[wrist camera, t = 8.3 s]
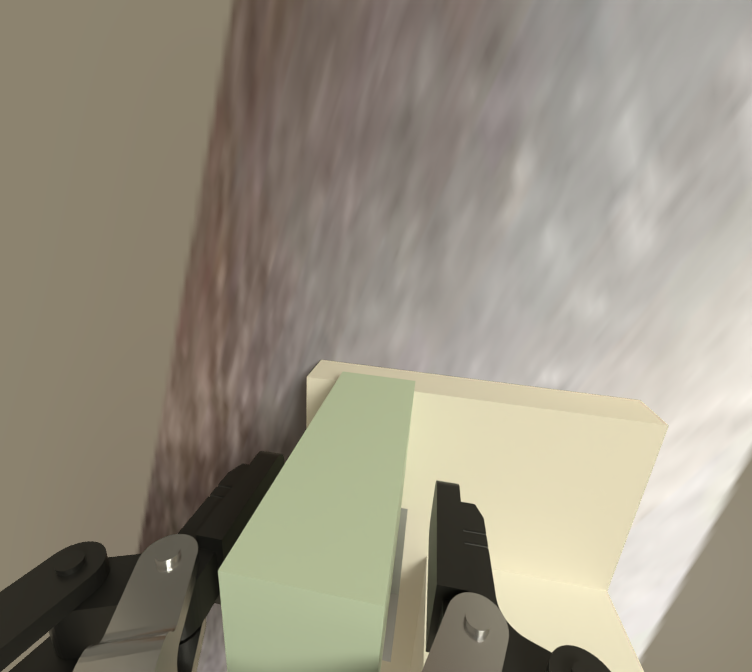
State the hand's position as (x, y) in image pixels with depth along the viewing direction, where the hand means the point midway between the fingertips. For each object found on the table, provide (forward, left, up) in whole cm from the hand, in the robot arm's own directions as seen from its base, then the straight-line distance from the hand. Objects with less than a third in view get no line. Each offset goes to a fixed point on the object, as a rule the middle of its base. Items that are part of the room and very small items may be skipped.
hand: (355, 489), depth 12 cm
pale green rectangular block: (+2, 0, -4) cm, 4 cm away
